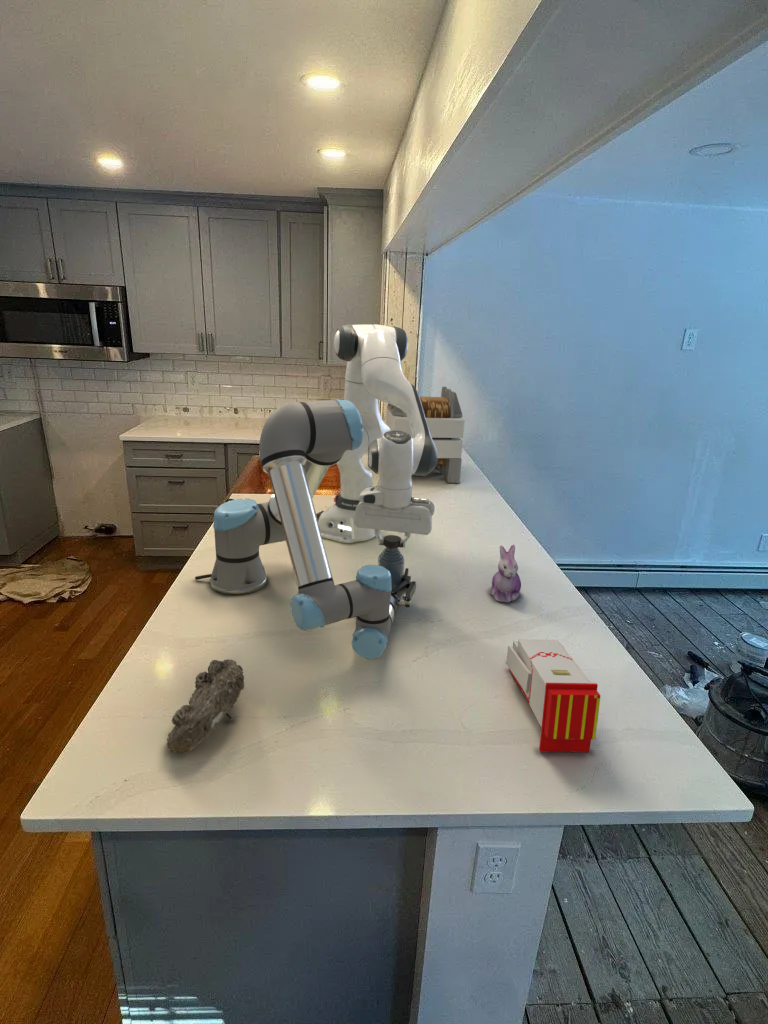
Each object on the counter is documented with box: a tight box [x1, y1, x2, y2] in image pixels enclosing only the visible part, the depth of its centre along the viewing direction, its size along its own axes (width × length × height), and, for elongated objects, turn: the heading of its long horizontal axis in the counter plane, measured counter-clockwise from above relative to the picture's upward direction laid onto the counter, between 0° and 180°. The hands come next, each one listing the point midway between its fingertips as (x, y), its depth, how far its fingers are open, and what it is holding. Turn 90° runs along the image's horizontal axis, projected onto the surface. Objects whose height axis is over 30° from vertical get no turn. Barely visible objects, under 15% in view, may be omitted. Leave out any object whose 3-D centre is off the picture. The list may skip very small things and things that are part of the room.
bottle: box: [377, 547, 406, 599], centre depth 152 cm, size 7×7×18 cm
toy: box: [505, 638, 602, 753], centre depth 114 cm, size 12×13×30 cm
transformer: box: [385, 386, 465, 484], centre depth 268 cm, size 34×33×41 cm
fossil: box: [166, 658, 245, 754], centre depth 106 cm, size 22×10×15 cm
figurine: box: [490, 544, 522, 603], centre depth 157 cm, size 9×10×15 cm
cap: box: [383, 534, 402, 549], centre depth 149 cm, size 5×5×2 cm
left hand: (392, 571), depth 157 cm, fingers closed on bottle, 7 cm apart
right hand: (391, 545), depth 149 cm, fingers closed on cap, 4 cm apart
